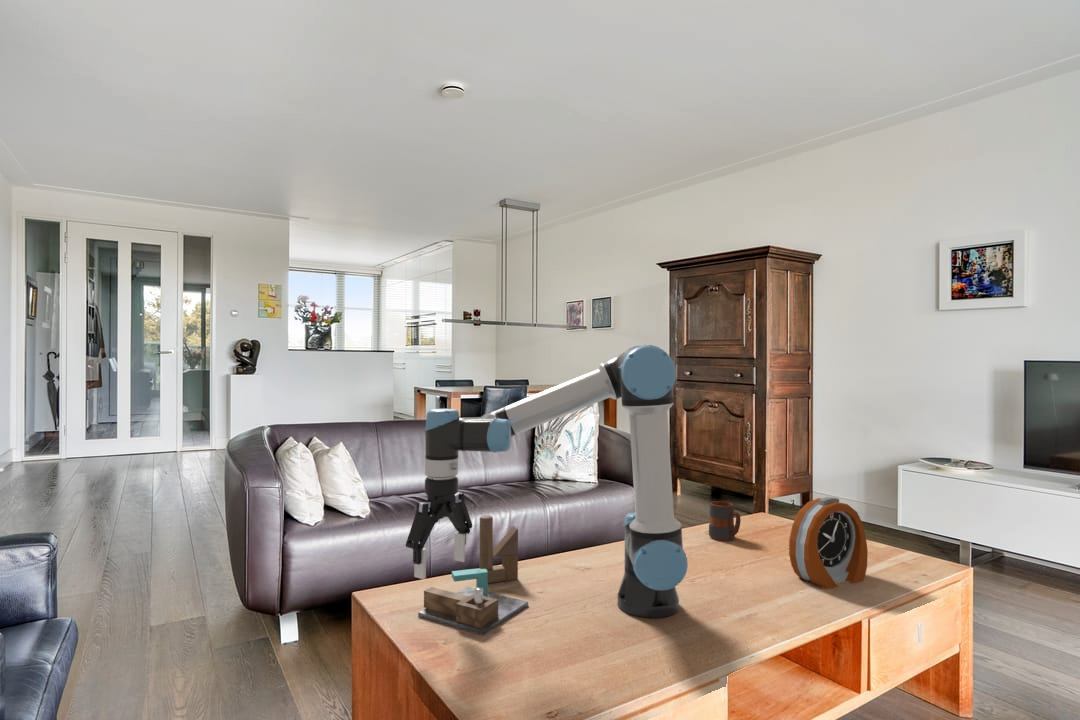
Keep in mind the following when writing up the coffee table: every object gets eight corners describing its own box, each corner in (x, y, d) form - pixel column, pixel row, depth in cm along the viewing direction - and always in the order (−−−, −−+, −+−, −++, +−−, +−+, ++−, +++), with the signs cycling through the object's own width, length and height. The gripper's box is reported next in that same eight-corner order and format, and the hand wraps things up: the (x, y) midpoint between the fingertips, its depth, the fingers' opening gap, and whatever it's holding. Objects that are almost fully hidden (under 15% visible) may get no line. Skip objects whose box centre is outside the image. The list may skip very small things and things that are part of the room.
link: (498, 616, 146) (498, 599, 146) (480, 627, 140) (480, 610, 140) (437, 600, 156) (437, 584, 156) (418, 610, 150) (418, 593, 150)
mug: (731, 545, 204) (731, 510, 204) (703, 536, 214) (703, 502, 214) (748, 541, 209) (748, 506, 209) (720, 532, 219) (720, 499, 219)
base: (528, 605, 155) (528, 573, 155) (482, 635, 139) (482, 599, 139) (467, 590, 165) (467, 560, 165) (418, 616, 149) (418, 583, 148)
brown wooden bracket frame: (518, 579, 173) (518, 515, 173) (481, 585, 169) (481, 519, 169) (513, 575, 176) (513, 511, 176) (477, 580, 172) (477, 515, 172)
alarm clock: (816, 591, 165) (816, 506, 165) (787, 579, 174) (788, 498, 174) (874, 579, 174) (874, 498, 174) (844, 568, 183) (844, 491, 183)
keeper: (488, 602, 157) (488, 572, 157) (454, 606, 154) (454, 576, 154) (485, 596, 161) (485, 567, 161) (451, 601, 158) (451, 571, 158)
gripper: (415, 488, 130) (414, 589, 130) (487, 470, 151) (486, 557, 152) (389, 483, 134) (388, 581, 134) (463, 466, 155) (462, 551, 156)
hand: (440, 569), depth 143 cm, fingers open, 13 cm apart
